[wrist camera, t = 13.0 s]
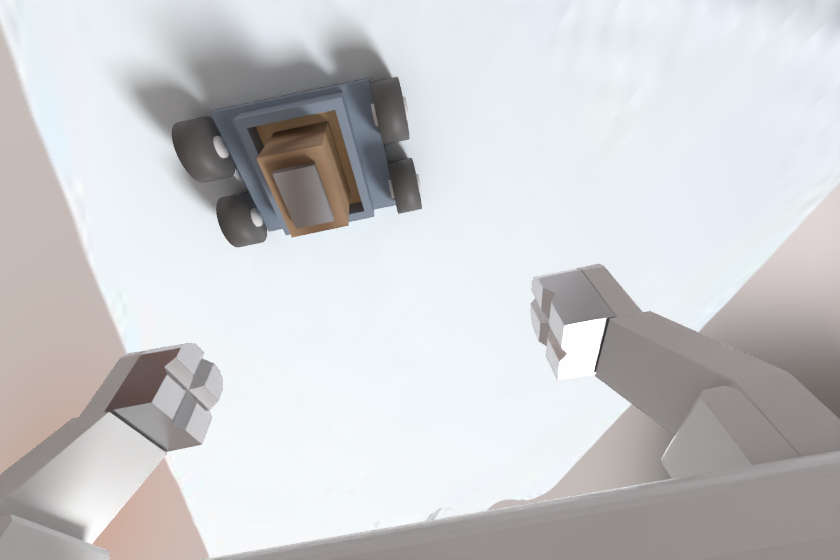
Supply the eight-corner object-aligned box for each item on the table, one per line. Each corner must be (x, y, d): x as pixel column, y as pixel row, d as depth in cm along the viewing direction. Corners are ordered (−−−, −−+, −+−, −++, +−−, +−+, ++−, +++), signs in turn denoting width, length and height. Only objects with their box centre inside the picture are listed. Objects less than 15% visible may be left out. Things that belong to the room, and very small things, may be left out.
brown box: (328, 120, 32) (320, 148, 26) (350, 192, 37) (348, 230, 30) (273, 132, 32) (253, 162, 26) (302, 202, 37) (290, 242, 30)
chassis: (398, 71, 32) (404, 81, 28) (420, 195, 39) (426, 217, 35) (183, 116, 32) (159, 132, 28) (246, 231, 39) (233, 257, 35)
